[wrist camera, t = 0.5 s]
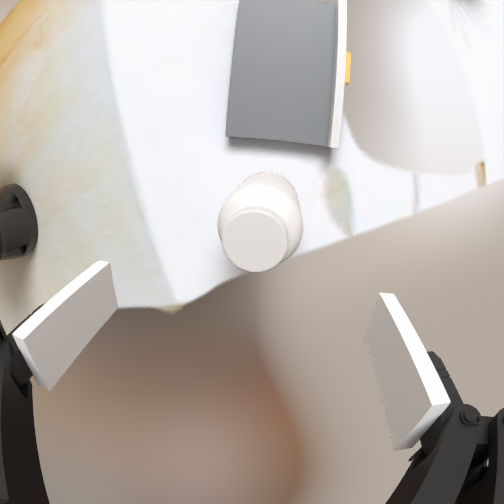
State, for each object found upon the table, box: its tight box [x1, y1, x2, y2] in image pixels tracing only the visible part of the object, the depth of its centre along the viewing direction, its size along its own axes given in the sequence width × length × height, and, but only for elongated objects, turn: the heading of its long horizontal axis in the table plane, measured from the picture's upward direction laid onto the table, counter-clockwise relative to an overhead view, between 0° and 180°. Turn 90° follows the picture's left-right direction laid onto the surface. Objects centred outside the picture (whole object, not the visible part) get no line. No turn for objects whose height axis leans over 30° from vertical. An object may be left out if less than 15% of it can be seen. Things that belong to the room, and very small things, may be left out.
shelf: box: [226, 0, 351, 149], centre depth 27 cm, size 14×20×4 cm
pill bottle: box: [218, 172, 303, 272], centre depth 29 cm, size 8×8×15 cm
